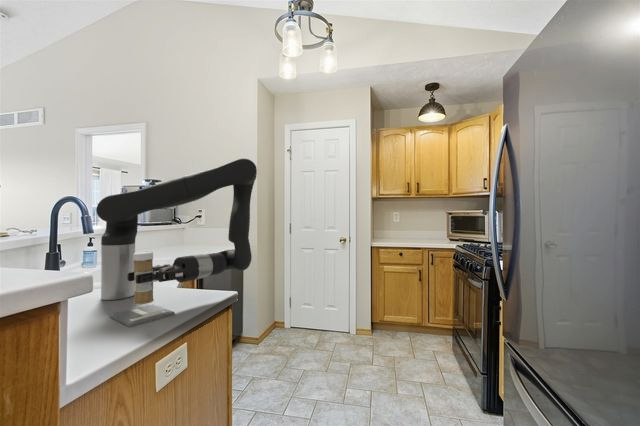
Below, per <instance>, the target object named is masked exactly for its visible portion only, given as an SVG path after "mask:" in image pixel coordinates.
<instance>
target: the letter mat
mask: <svg viewBox="0 0 640 426" xmlns="http://www.w3.org/2000/svg"><path fill="white" fill-rule="evenodd" d="M173 315H175V311H173V310H170V309H167V308H165V307H162V306H159V305H156V304H154V303H152V304H148V305H144V306H139V307H135V308H131V309H128V310H123V311H120V312H115V313H111V314H109V316H108V317H109V318H110V319H112V320H114V321H116V322H118V323H120V324H122V325H124V326H127V327H128V328H132V327H136V326H138V325H141V324H146V323H149V322H153V321H156V320H160V319H163V318H167V317H170V316H173Z"/></svg>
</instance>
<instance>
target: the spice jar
mask: <svg viewBox="0 0 640 426" xmlns="http://www.w3.org/2000/svg"><path fill="white" fill-rule="evenodd" d="M153 259H154V252H153V251H139V252H138V251H137V252H135V253H134V254H133V260H134V292H135V295H134V302H133V303H134V305H147V304H150V303H152V302H154V301H155V299H154V282H153V280H152V281H150V282H145V283H140V284H138V283H136V275H139V274H145V273H152V272H153V261H154V260H153ZM152 274H153V273H152Z"/></svg>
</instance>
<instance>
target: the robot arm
mask: <svg viewBox="0 0 640 426" xmlns="http://www.w3.org/2000/svg"><path fill="white" fill-rule="evenodd" d="M257 173H258V169H257V165H256V164H255V162H253V160H251V159H249V158H238V159H234V160H232V161H230V162H227V163H225V164H222V165H220V166H217V167H214V168H210V169H206V170H202V171H197V172H193V173H190V174H186V175H181V176H178V177H175V178H171V179H168V180H166V181H162V182H159V183H156V184H154V185H151V186H148V187H145V188H142V189H137V190H134V191H128V192H121V193H117V194H109V195H107V196H105V197H104V198H102V199H101V200H100V201H99V202H98V204H97V205H96V210H95V211H96V215H97V216H98V218H100V219H101V220H102V221H104V222H105V231H104V233H103V234H102V235H101V239H100V242H101V243H100V246H101V247H100V249H101V251H100V252H101V253H100V254H101V256H100V258H101V263H100V269H101V270H100V272H101V273H100V300H103V301H114V300H121V299H127V298H131V297H133V296H135V292H134V260H133V254H134V253H136V238H137V234H138V227H139V226H138V225H139V223H138V222H139V215H140V214H144V213H146V212H149V211H154V210H159V209H160V210H161V209H168V208H173V207H178V206H181V205H185V204H188V203H191V202H195V201H198V200H200V199H203V198H205V197H208V196H209V195H210V194H212V193H214V192H216V191H218V190H220V189H222V188H223V189H224V188H226V187H230V186H233V187H232V188H233V189H232V190H233V197H232V199H233V200H232V206H231V212H230V217H229V223H228V235H227V237H228V238H227V239H228V241H229V242H231V243H233V245H234V249H226V250H221V251H219V252H212V253H204V254H203V253H202V254H199V253H198V254H192V255H184V256H178V257H176V258H175V259H174V261H173V263H172V264H170V263H166V264H163V265H160V264H158V265H154V266H153V272H152V273H153V274H152V273H145V274H139V275H136V283H138V284H140V283H145V282H150V281H152V280H153V283H157V282H158V283H162V282H171V281H177V282H178V283H182V284H183V283H186V282H191V281H196V280H200V279H204V278H206V277H211V276H215V275H218V274H221V273H223V272H224V271H226V270H227V271H228V270H233V271H245V270H248V268H249V267H250V264H251V263H252V259H253V258H252V257H253V256H252V251H251V250H252V249H251V245H250V240H249V237H250V225H251V224H250V223H251V220H250V219H251V199H252V193H253V188H254V185H255V181H256V179H257Z"/></svg>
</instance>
